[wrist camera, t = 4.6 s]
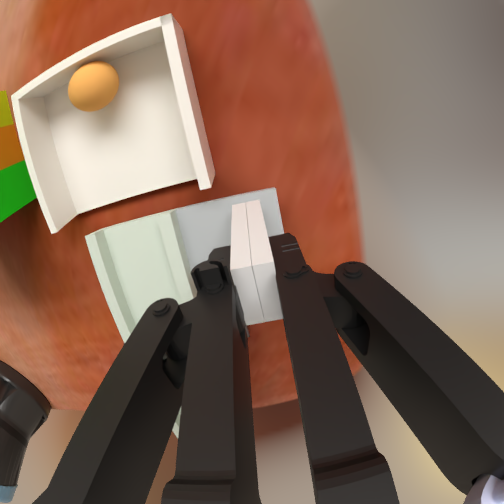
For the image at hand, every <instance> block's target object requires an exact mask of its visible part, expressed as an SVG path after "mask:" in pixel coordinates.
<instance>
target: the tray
mask: <svg viewBox="0 0 504 504" xmlns="http://www.w3.org/2000/svg"><path fill="white" fill-rule="evenodd" d="M93 61H103V62H106V63H108V64H110V65H112V66H113V67H114V68H115V70H116V71H117V73H118V76H119V87H118V91H117V93H116V95H115V97H114V98H113V100H112V101H111V102H110V103H109V104H108V105H107V106H105V107H104V108H102V109H100V110H97V111H92V112H86V111H82V110H79V109H77V108H76V107H75V106H74V105H73V104H72V103H71V101H70V99H69V96H68V86H69V82H70V80H71V78H72V76H73V74H74V73H75V72H76V71H77V70H78V69H79V68H80V67H81V66H83V65H85V64H87V63H89V62H93ZM11 98H12V104H13V110H14V115H15V121H16V125H17V130H18V134H19V139H20V143H21V147H22V150H23V154H24V158H25V161H26V165H27V168H28V171H29V175H30V178H31V181H32V184H33V187H34V190H35V193H36V196H37V198H38V201H39V204H40V206H41V209H42V212H43V214H44V217H45V219H46V222H47V224H48V227H49V229H50V231H51V234H53V233H56V232H58V231H59V230H60V229H61V228H62V227H64V226H65V225H66V224H67V223H68V222H69V221H70V220H72V219H73V218H74V217H75V216H76V215H77V214H80V213H83V212H86V211H89V210H92V209H95V208H98V207H101V206H104V205H107V204H110V203H113V202H116V201H119V200H122V199H126V198H129V197H132V196H136V195H139V194H142V193H146V192H149V191H153V190H156V189H160V188H164V187H167V186H171V185H175V184H179V183H183V182H187V181H191V180H195V179H197V180H198V184H199V187H200V190H203V189H207V188H211V187H212V183H213V180H214V176H215V169H214V165H213V161H212V156H211V152H210V148H209V144H208V140H207V136H206V131H205V127H204V123H203V118H202V114H201V110H200V106H199V101H198V97H197V93H196V88H195V84H194V79H193V75H192V70H191V66H190V61H189V57H188V52H187V48H186V43H185V39H184V34H183V30H182V28H181V27H180V25H179V24H178V22H177V21H176V20H175V18H174V17H173V15H172V14H171V13H170V14H167V15H164V16H161V17H158V18H155V19H152V20H149V21H146V22H143V23H141V24H138V25H135V26H133V27H130V28H128V29H125V30H123V31H120V32H118V33H116V34H114V35H111V36H109V37H107V38H105V39H103V40H100V41H98V42H96V43H94V44H92V45H90V46H88V47H86V48H84V49H83V50H81V51H79V52H77V53H75V54H73V55H72V56H70V57H68V58H66V59H65V60H63V61H61V62H60V63H58V64H56V65H55V66H53V67H51V68H50V69H48V70H47V71H45V72H44V73H42V74H41V75H39V76H38V77H36V78H35V79H33V80H32V81H30V82H29V83H28V84H26V85H25V86H24V87H22V88H21V89H19V90H18V91H17V92H16V93H14V94H13V95H12V96H11Z"/></svg>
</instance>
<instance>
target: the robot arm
mask: <svg viewBox="0 0 504 504" xmlns="http://www.w3.org/2000/svg"><path fill="white" fill-rule="evenodd" d="M191 276H192V279H193V281H194V284H195V287H196V289H197V296H196V297H195V298H194V299H192V300H190V301H187V302H185V303H182V304H180V305H178V302H177V301H176V300H175V299H173V298H163V299H160V300H157V301H155V302H154V303H152V304H151V305H150V306H149V307H148V308H147V309H146V311H145V312H144V314H143V316H142V317H141V319H140V320H139V322H138V323H137V325H136V327H135V328H134V330H133V331H132V333H131V335H130V336H129V338H128V339H127V341H126V343H125V344H124V346H123V348H122V349H121V351H120V352H119V354H118V356H117V357H116V359H115V361H114V363H113V364H112V366H111V368H110V369H109V371H108V373H107V374H106V376H105V378H104V380H103V381H102V383H101V385H100V387H99V388H98V390H97V392H96V394H95V395H94V397H93V399H92V401H91V403H90V404H89V406H88V408H87V410H86V412H85V414H84V416H83V417H82V419H81V421H80V423H79V425H78V427H77V429H76V431H75V432H74V434H73V436H72V438H71V440H70V442H69V444H68V446H67V448H66V450H65V452H64V454H63V456H62V458H61V461H60V463H59V464H58V467H57V469H56V471H55V473H54V475H53V477H52V479H51V482H50V484H49V486H48V488H47V489H46V490H45V491H44V492H43V493H42V494H41V495H40V496H39V497H38V498H37V499H36V500H35V501H34V502H33V503H32V504H145V502H146V499H147V496H148V494H149V491H150V488H151V486H152V483H153V480H154V477H155V475H156V472H157V469H158V467H159V464H160V461H161V459H162V456H163V453H164V451H165V448H166V445H167V443H168V440H169V437H170V435H171V432H172V429H173V427H174V424H175V421H176V419H177V416H178V414H179V411H180V408H181V415H180V425H179V435H178V447H177V460H176V471H175V476H174V478H173V479H172V480H171V481H169V482H168V483H166V485H165V487H164V489H163V494H162V501H161V504H262V503H261V500H260V497H259V490H258V478H257V465H256V452H255V439H254V426H253V412H252V398H251V383H250V369H249V354H248V338H247V332H246V329H245V324H244V319H245V323H246V325H252V324H257V323H263V322H268V321H273V320H279V319H283V320H284V326H285V332H286V338H287V342H288V347H289V352H290V358H291V363H292V368H293V373H294V379H295V384H296V390H297V395H298V401H299V406H300V412H301V417H302V422H303V429H304V434H305V440H306V446H307V452H308V458H309V464H310V469H311V475H312V482H313V488H314V495H315V502H316V504H399V500H398V496H397V492H396V489H395V485H394V481H393V478H392V474H391V471H390V468H389V465H388V463H387V461H386V459H385V457H384V456H383V455H382V454H381V453H379V452H378V450H377V449H376V446H375V443H374V440H373V437H372V434H371V430H370V427H369V424H368V421H367V418H366V414H365V411H364V408H363V405H362V403H361V399H360V396H359V393H358V390H357V387H356V384H355V381H354V379H353V376H352V373H351V370H350V367H349V364H348V362H347V359H346V356H345V353H344V351H343V348H342V345H341V342H340V340H339V337H338V334H339V335H340V336H341V338H342V339H343V340H344V341H345V343H346V344H347V345H348V347H349V348H350V349H351V351H352V352H353V353H354V354H355V356H356V357H357V358H358V360H359V361H360V362H361V364H362V365H363V366H364V368H365V369H366V370H367V371H368V373H369V374H370V375H371V376H372V378H373V379H374V381H375V382H376V383H377V384H378V386H379V387H380V388H381V390H382V391H383V393H384V394H385V395H386V397H387V398H388V399H389V401H390V402H391V403H392V405H393V406H394V407H395V409H396V410H397V411H398V413H399V414H400V415H401V417H402V418H403V419H404V421H405V422H406V423H407V425H408V426H409V427H410V429H411V430H412V432H413V433H414V434H415V436H416V437H417V438H418V440H419V441H420V443H421V444H422V445H423V446H424V448H425V449H426V451H427V452H428V454H429V455H430V456H431V457H432V459H433V460H434V462H435V463H436V465H437V466H438V467H439V469H440V470H441V472H442V473H443V474H444V475H445V477H446V478H447V479H448V480H449V481H450V482H451V483H452V484H453V485H454V486H455V487H456V488H457V489H458V490H460V491H461V492H462V493H464V494H466V495H467V497H466V498H465V502H464V503H463V504H504V392H503V391H502V390H501V389H500V388H499V387H498V386H497V385H496V384H495V382H494V381H493V380H492V379H491V378H490V377H489V376H488V375H487V374H486V373H485V372H484V371H483V370H482V369H481V368H480V367H479V366H478V365H477V364H476V363H475V362H474V361H473V360H472V359H471V358H470V357H469V356H468V355H467V354H466V353H465V352H464V351H463V350H462V349H461V348H460V347H459V346H458V345H457V344H456V343H455V342H454V341H453V340H452V339H450V338H449V337H448V336H447V335H446V334H445V333H444V332H443V331H442V330H441V329H440V328H439V327H438V326H437V325H436V324H435V323H433V322H432V321H431V320H430V319H429V318H428V317H427V316H426V315H425V314H424V313H422V312H421V311H420V310H419V309H418V308H417V307H416V306H414V305H413V304H412V303H411V302H410V301H409V300H408V299H406V298H405V297H404V296H403V295H402V294H401V293H400V292H398V291H397V290H396V289H395V288H394V287H393V286H391V285H390V284H389V283H388V282H387V281H386V280H384V279H383V278H382V277H381V276H380V275H378V274H377V273H376V272H375V271H373V270H372V269H371V268H370V267H368V266H367V265H365V264H364V263H360V262H346V263H342V264H341V265H339V266H337V268H336V269H335V272H334V274H321V273H316V272H314V271H312V269H311V267H310V266H309V265H307V264H306V262H305V260H304V257H303V255H302V252H301V250H300V248H299V245H298V243H297V240H296V238H295V237H294V236H293V235H291V234H290V233H285V234H280V235H275V236H270V237H268V234H267V230H266V226H265V221H264V217H263V213H262V209H261V205H260V200H254V201H249V202H245V203H240V204H235V205H232V220H231V245H229V246H224V247H219V248H214V249H213V250H212V252H211V253H210V254H209V257H208V260H207V261H203V262H201V263H199V264H198V265H196V266H195V267H194V268H193V269H192V271H191ZM335 328H336V329H335ZM336 331H337V332H338V334H337V332H336ZM50 410H51V407H50V404H49V402H48V401H47V400H46V398H45V397H44V396H43V395H42V394H41V392H40V391H39V390H38V389H37V388H36V387H35V386H33V385H32V384H31V383H30V382H29V381H28V380H27V379H25V378H24V377H23V376H22V375H20V374H19V373H18V372H17V371H15V370H14V369H12V368H11V367H9V366H8V365H6V364H5V363H3V362H1V361H0V502H4V503H8V502H10V501H12V499H13V496H14V493H15V490H16V488H17V486H18V485H17V481H18V478H19V473H20V470H21V466H22V462H23V459H24V455H25V452H26V448H27V445H28V442H29V440H30V438H31V437H32V435H33V434H34V433H35V432H36V431H37V430H38V429H39V428H40V426H41V425H42V424H43V423H44V422H45V421H46V420H47V418H48V415H49V413H50Z"/></svg>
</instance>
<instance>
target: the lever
mask: <svg viewBox="0 0 504 504" xmlns="http://www.w3.org/2000/svg"><path fill="white" fill-rule="evenodd" d="M254 200H260V205H261V209H262V213H263V217H264V221H265V226H266V230H267V234H268V237H270V236H275V235H280V234H284V231H283V225H282V220H281V214H280V209H279V204H278V198H277V193H276V188H274V187H273V188H268V189H263V190H257V191H252V192H248V193H243V194H238V195H233V196H228V197H224V198H219V199H215V200H210V201H206V202H202V203H197V204H193V205H189V206H185V207H181V208H176V209H172V210H168V211H164V212H161V213H157V214H153V215H149V216H145V217H141V218H138V219H134V220H130V221H127V222H123V223H120V224H116V225H113V226H109V227H106V228H102V229H100V230H97V231H95V232H93V233H91V234H89V235H87V236H85V238H86V242H87V245H88V249H89V252H90V255H91V258H92V261H93V264H94V267H95V270H96V273H97V276H98V279H99V282H100V285H101V287H102V290H103V293H104V295H105V298H106V301H107V303H108V306H109V308H110V311H111V313H112V316H113V318H114V320H115V323H116V325H117V327H118V330H119V332H120V334H121V336H122V339H123V341H124V343H126V341H127V339H128V338H129V336H130V335H131V333H132V331H133V330H134V328H135V327H136V325H137V323H138V322H139V320H140V319H141V317H142V316H143V314H144V312H145V311H146V309H147V308H148V307H149V306H150V305H151V304H152V303H154V302H155V301H157V300H160V299H163V298H173V299H175V300H176V301H177V302H178V305H180V304H182V303H185V302H187V301H190V300H192V299H194V298H195V297H196V296H197V289H196V287H195V284H194V281H193V279H192V276H191V271H192V269H193V268H194V267H195V266H196V265H198V264H199V263H201V262H203V261H207V260H208V257H209V254H210V253H211V252H212V250H213V249H214V248H219V247H224V246H229V245H231V220H232V205H235V204H240V203H245V202H249V201H254ZM180 415H181V408H180V411H179V414H178V416H177V419H176V421H175V424H174V427H173V429H172V431H173V432H174V434H175V435H176V437H177V438H178V435H179V425H180Z"/></svg>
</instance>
